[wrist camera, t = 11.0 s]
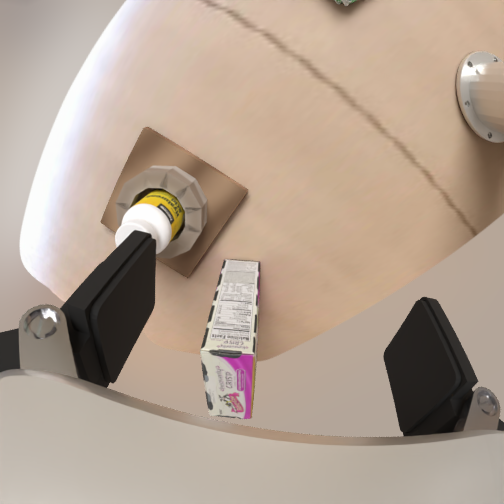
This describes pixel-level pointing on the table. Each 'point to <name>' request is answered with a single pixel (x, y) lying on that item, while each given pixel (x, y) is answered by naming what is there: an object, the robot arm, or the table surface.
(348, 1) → the dish towel
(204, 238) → the hub block
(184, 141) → the table surface
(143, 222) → the supplement bottle
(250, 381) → the candy bar box
